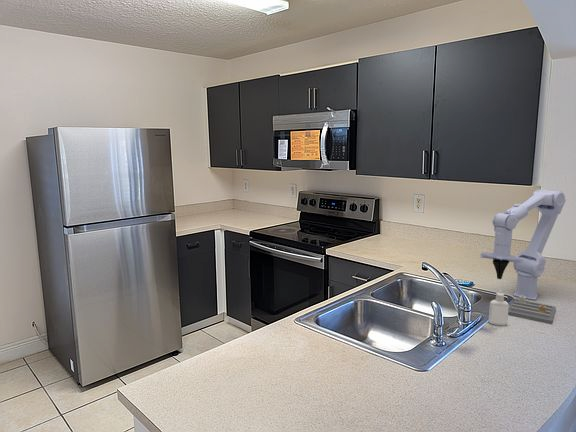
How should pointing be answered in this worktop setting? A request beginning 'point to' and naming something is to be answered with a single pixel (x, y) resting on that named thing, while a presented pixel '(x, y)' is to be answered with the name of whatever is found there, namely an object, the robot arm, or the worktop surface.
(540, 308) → the oak tab
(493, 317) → the eye dropper bottle
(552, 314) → the switch board
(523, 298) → the grooved grey cube
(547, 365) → the worktop surface
